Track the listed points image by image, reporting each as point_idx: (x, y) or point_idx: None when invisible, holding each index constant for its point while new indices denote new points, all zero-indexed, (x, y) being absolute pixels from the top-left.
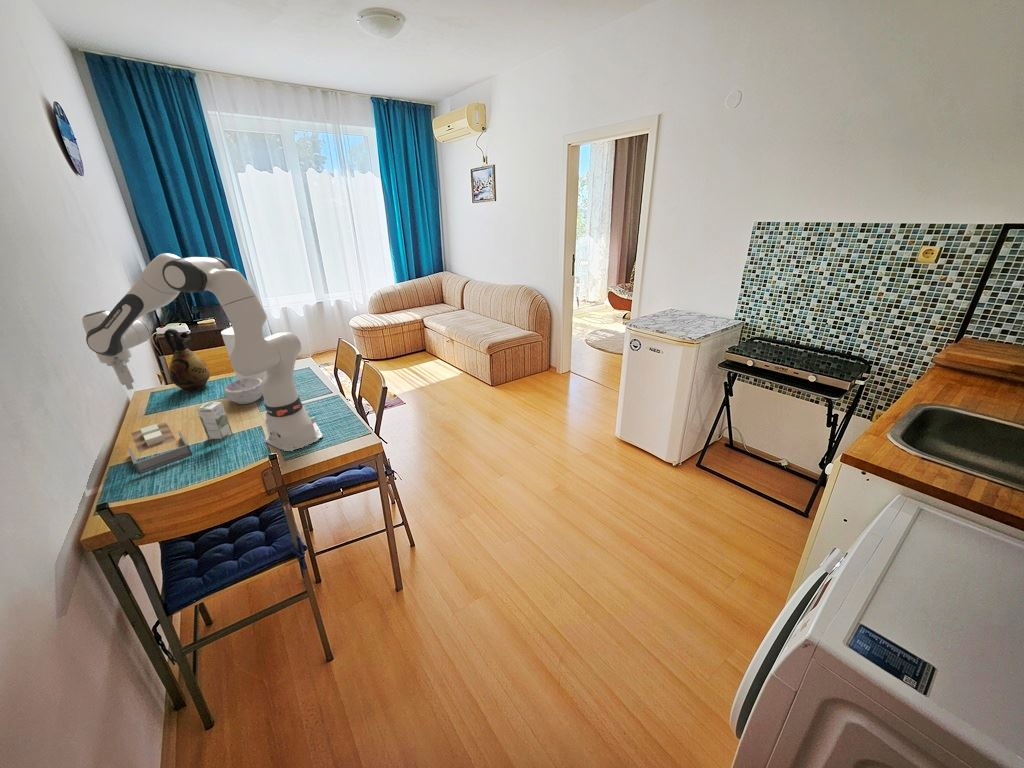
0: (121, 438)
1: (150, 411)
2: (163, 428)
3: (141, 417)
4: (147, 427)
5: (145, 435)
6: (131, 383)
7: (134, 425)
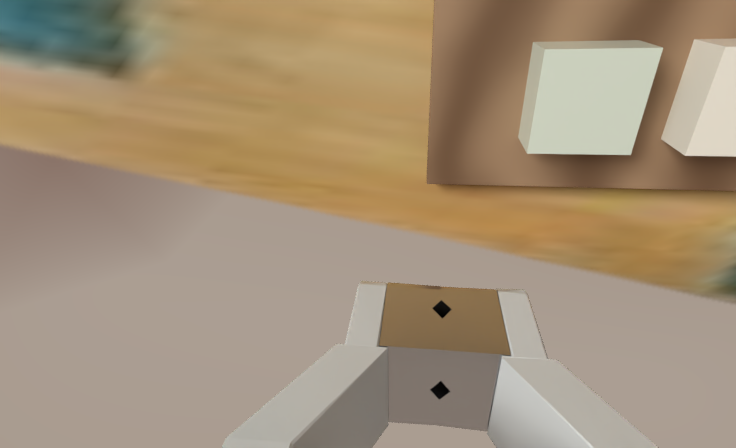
0: (403, 217)
1: (76, 39)
2: (551, 11)
3: (154, 99)
4: (552, 112)
5: (698, 144)
6: (588, 390)
7: (262, 146)
